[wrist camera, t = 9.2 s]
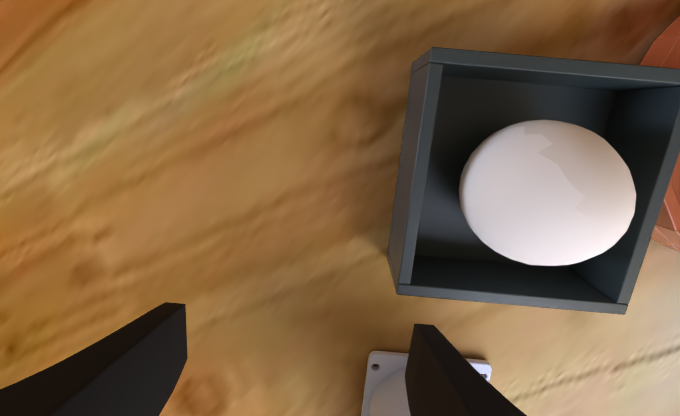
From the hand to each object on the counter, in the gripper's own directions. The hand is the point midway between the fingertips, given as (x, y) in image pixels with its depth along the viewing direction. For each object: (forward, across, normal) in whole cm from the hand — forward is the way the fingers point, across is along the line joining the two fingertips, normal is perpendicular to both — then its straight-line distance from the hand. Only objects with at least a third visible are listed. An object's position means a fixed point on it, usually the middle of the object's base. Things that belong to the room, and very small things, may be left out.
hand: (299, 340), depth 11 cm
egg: (+10, -10, -4) cm, 15 cm away
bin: (+10, -10, -4) cm, 15 cm away
